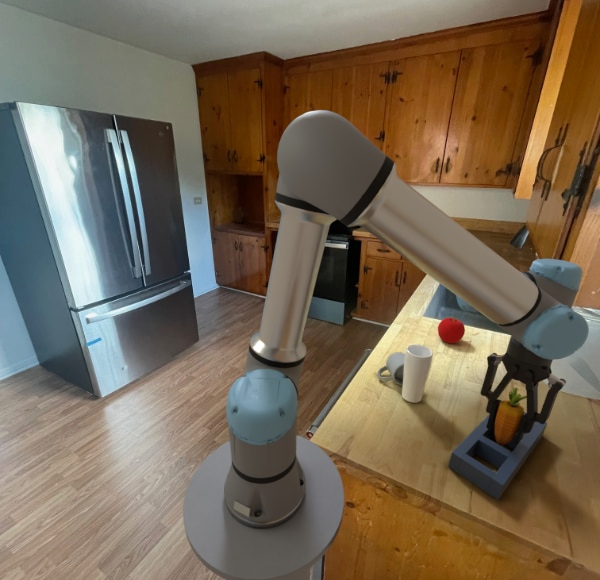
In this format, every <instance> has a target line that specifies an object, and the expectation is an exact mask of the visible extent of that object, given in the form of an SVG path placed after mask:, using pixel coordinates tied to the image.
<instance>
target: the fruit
mask: <svg viewBox="0 0 600 580" xmlns="http://www.w3.org/2000/svg"><path fill="white" fill-rule="evenodd" d="M465 332H466V329H465V324H464V323H463V322H462V321H460V320H459V319H457V318H456V315H454V317H445V318H442V319H441V321H440V322H439V323H438V326H437V335H438V337H439V338H440V339H441V340H442V341H443V342H444V343H447V344H457V343H459V342H460V341H461V340H462V339H463V338H464V335H465V334H466V333H465Z"/></svg>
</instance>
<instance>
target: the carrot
mask: <svg viewBox="0 0 600 580" xmlns="http://www.w3.org/2000/svg"><path fill="white" fill-rule="evenodd" d="M526 399H527V395H521V393H518V387H513V388H512V391H509V392H508V399H506V400H501V402H500V403H499V405H498V409H497V413H496V418H495V438H496V439H495V441H496V443H497V444H498V445H500V446H502V447H504V446H506V445H505V444H507V443H508V442H509V441H511V440H512V439H513V437H514V436H515V435H516V433H517V431H518V428H519V425H520V422H521V419H522V418H523V416H524V412H525V408H524V407H523V406H522V405H521V403H520V401H522V400H526Z"/></svg>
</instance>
